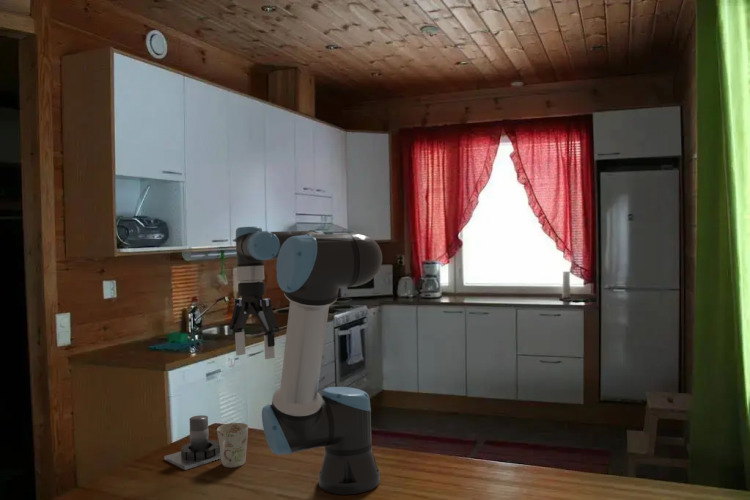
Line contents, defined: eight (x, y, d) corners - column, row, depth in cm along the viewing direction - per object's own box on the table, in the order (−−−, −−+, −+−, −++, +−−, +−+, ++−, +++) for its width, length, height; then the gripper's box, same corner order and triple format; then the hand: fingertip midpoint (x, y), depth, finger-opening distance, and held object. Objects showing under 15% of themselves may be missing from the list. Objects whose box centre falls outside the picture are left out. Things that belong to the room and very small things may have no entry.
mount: (236, 453, 175) (236, 443, 175) (185, 470, 163) (184, 459, 163) (215, 444, 183) (214, 434, 183) (164, 459, 172) (164, 449, 172)
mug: (253, 458, 171) (252, 422, 171) (239, 475, 158) (237, 437, 158) (224, 458, 172) (223, 422, 171) (208, 475, 159) (206, 437, 159)
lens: (212, 452, 173) (211, 417, 173) (196, 457, 170) (194, 421, 170) (203, 448, 177) (202, 414, 177) (187, 453, 174) (186, 418, 173)
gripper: (289, 280, 167) (293, 357, 167) (236, 280, 184) (240, 351, 184) (267, 282, 161) (271, 362, 161) (215, 282, 178) (218, 355, 178)
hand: (254, 356), depth 172 cm, fingers open, 13 cm apart
